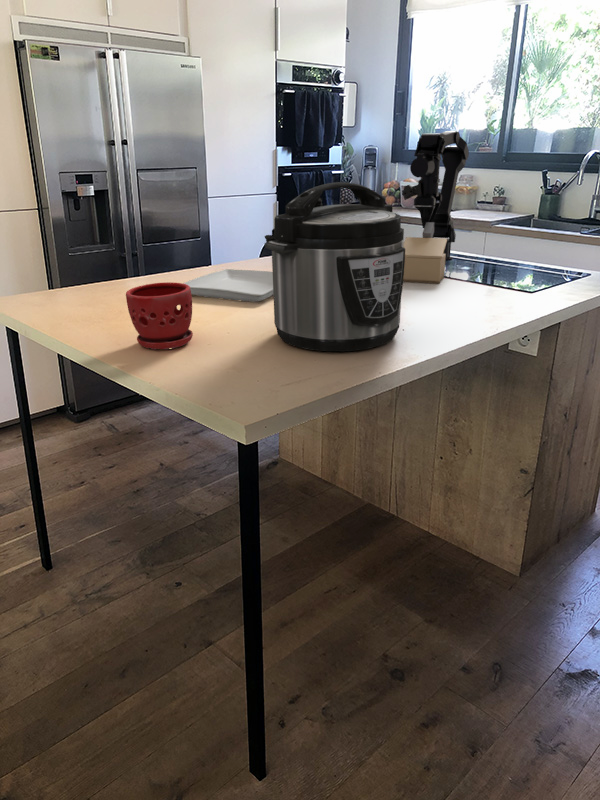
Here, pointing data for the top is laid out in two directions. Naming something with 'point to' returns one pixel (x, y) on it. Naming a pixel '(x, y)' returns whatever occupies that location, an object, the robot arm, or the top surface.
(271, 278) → the square plate
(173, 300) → the plant pot
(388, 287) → the pressure cooker
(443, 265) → the carton
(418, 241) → the lid
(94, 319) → the top surface
